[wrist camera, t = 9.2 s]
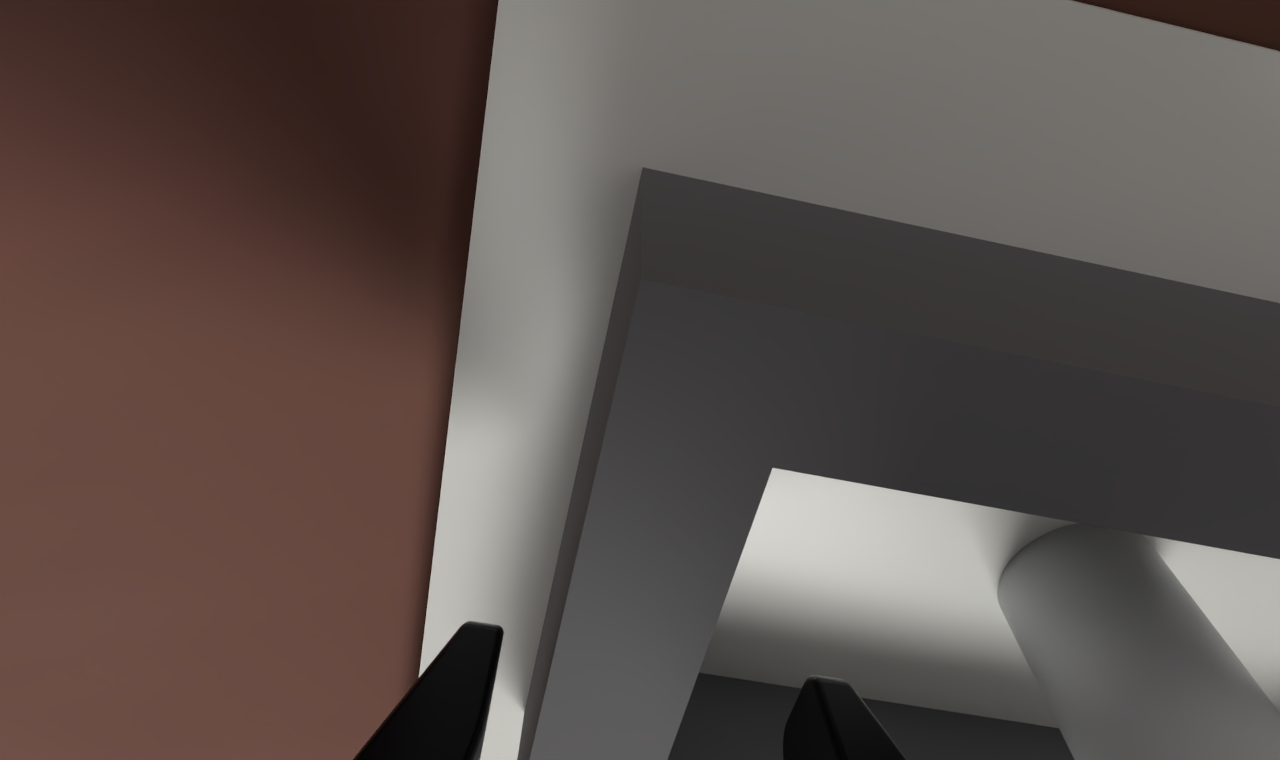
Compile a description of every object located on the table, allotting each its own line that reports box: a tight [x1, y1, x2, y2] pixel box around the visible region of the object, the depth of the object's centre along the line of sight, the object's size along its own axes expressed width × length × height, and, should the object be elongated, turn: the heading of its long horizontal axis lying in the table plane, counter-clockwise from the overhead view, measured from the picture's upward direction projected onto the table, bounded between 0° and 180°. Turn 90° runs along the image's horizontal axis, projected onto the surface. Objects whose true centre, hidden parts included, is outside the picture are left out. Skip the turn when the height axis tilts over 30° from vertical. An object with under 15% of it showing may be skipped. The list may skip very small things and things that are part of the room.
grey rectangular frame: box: [517, 167, 1280, 760], centre depth 11 cm, size 14×9×3 cm, turn 78°
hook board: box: [419, 0, 1280, 760], centre depth 10 cm, size 18×14×6 cm
